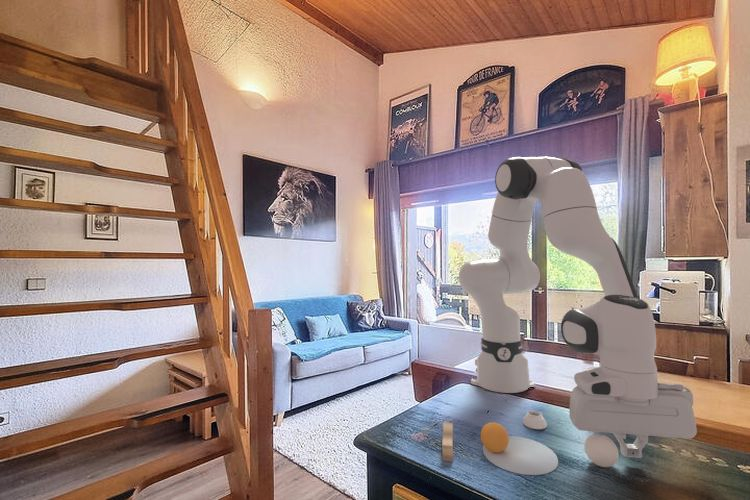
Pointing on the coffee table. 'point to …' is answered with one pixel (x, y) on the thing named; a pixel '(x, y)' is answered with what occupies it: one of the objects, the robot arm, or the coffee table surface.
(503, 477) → the coffee table surface
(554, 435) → the coffee table surface
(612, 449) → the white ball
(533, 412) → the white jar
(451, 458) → the wall
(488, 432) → the orange ball
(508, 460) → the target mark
